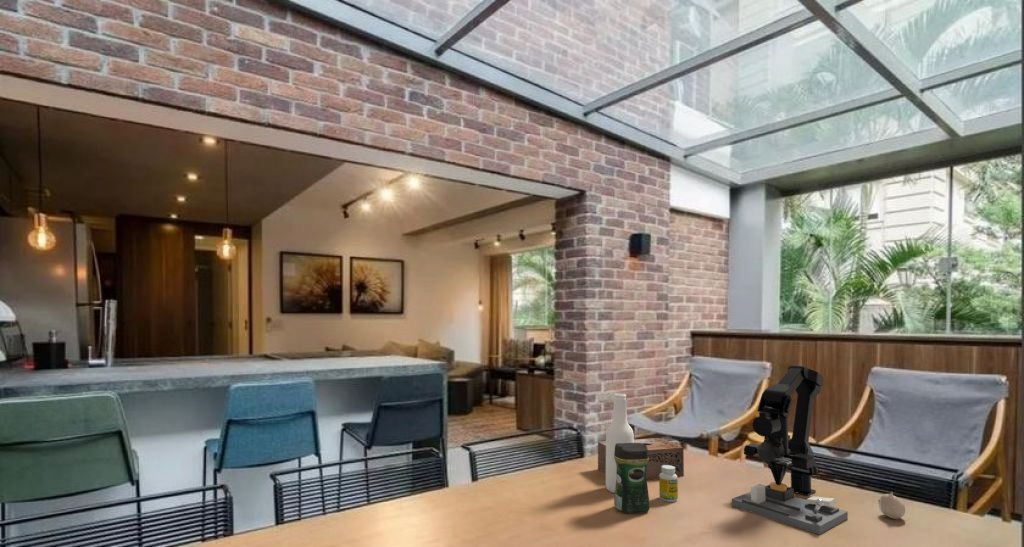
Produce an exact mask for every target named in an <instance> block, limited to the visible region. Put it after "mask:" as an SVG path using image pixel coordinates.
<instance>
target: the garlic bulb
mask: <svg viewBox="0 0 1024 547" xmlns="http://www.w3.org/2000/svg"><path fill="white" fill-rule="evenodd" d="M877 503H878V507H879V510H880V512H881V513H882V514H883V515H884V516H886V517H888V518H891V519H892V520H899V519H902V518H903V517H904V516H905V514H906V506H905V503H904V502H903V501H902V500H901V499H899V498H898V497H897V496H895V495H894V493H893V491H890V492H889V493H885V494H883V495H881V496H880V499H878V502H877Z"/></svg>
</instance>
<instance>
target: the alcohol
mask: <svg viewBox="0 0 1024 547" xmlns="http://www.w3.org/2000/svg"><path fill="white" fill-rule="evenodd" d="M634 433H635V432H634V430H633V428H632V426H630V424H629V422H628V412H627V394H626V393H618V392H617V393H616V392H615V393H614V394H613V410H612V420H611V423H610V424H609V425H608V427H607V428H606V432H605V441H606V474H605V488H606V490H607V491H608V492H610V493H613V494H615V487H616V475H617V466H616V461H615V459H614V452H615V445H616V444H617V443H634V440H635V435H634Z"/></svg>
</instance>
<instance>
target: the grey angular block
mask: <svg viewBox="0 0 1024 547" xmlns="http://www.w3.org/2000/svg"><path fill="white" fill-rule="evenodd" d="M765 486H766V485H765V484H761V483H759V484H756V485H753V486H751V487H750V492H751V502H754V503H757V504H759V503H762V502H764V501H765Z"/></svg>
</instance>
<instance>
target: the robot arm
mask: <svg viewBox="0 0 1024 547" xmlns="http://www.w3.org/2000/svg"><path fill="white" fill-rule="evenodd" d="M823 385H824V377H823V375H821V373H819V371H816V370H813V369H810V368H808V366H805V365H798V364H796V365H795V364H792V365H789V366H788V369H787V371H786V373H785V374H784V375H783V376H782V377H781V378H780V380H779V381H778V382H777V383H776V384H774V385H770V386H768V387H767V388H765V389H764V390H763V392H762V394H761V395H760V396H761V397H760V400H759V404H758V407H757V410H756V411H757V412H758V416H755V418H754V420H753V421H752V429H753V431H754V432H755V433H756V435H758V436H760V437H764V438H763V441H762V442H761V443H760V444H759V443H749V444H745V445H744V447H743V454H744V455H746V456H750V457H754V456H755V455H758V456H757V457H758V459H759V460H761V461H762V462H764V464H766V465H767V466H768V468H769V470H770V471H771V474H772V477H773V479H774V482H776V484H777V485H780V484H781V483H783V481H784V477H785V476H786V474H787V472H788V471H789V472H790V486H788V487H789V488H793V489H794V494H795V493H796V494H798V495H799V494H800V495H803V496H810V495H812V494H814V493H816V491H817V490H816V489H812V477H813V476H816V477H817V476H818V472H819V470H818V469H819V467H818V464H817V462H816V460H815V458H814V452H813V449H812V447H811V445H810V442H809V440H810V433H811V432H810V431H811V422H812V415H813V405H814V401H815V398H816V397H818V395H819V394H820V393H821V390H822V387H823ZM795 392H796V394H797V395H796V396H797V397H796V404H795V411H794V412H795V413H794V419H793V426H792V428H793V429H792V435H789V426H788V425H789V423H788V422H789V421H788V420H789V418H788V416H790V411H791V408H792V405H793V402H794V401H793V397H792V396H793V393H795Z"/></svg>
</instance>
